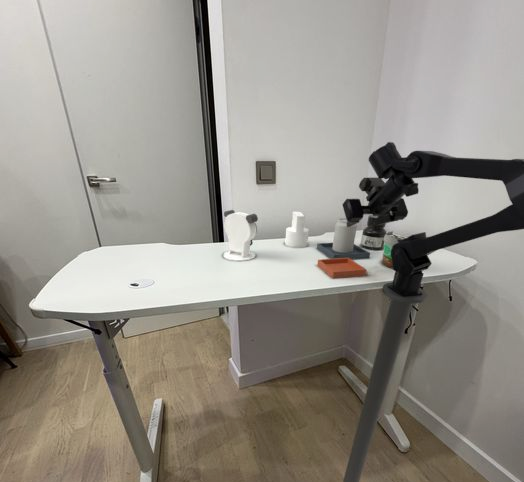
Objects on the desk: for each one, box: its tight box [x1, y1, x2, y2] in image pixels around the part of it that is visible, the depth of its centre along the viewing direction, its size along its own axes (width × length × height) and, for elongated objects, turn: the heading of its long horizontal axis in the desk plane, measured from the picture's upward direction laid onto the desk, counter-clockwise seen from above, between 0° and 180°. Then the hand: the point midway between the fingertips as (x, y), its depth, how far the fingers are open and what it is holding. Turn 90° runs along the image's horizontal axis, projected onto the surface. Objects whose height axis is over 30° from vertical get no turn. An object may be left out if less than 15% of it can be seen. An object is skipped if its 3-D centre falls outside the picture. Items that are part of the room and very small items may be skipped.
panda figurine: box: [223, 209, 259, 262], centre depth 100 cm, size 12×11×15 cm
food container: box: [381, 231, 405, 269], centre depth 96 cm, size 12×6×10 cm, turn 17°
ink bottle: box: [360, 214, 388, 251], centre depth 114 cm, size 10×9×12 cm
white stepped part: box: [284, 211, 310, 248], centre depth 115 cm, size 9×9×12 cm
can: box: [332, 217, 358, 254], centre depth 106 cm, size 8×8×12 cm
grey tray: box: [316, 242, 371, 260], centre depth 109 cm, size 14×14×2 cm
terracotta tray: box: [316, 258, 368, 279], centre depth 93 cm, size 11×11×2 cm
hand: (360, 225), depth 90 cm, fingers open, 9 cm apart
